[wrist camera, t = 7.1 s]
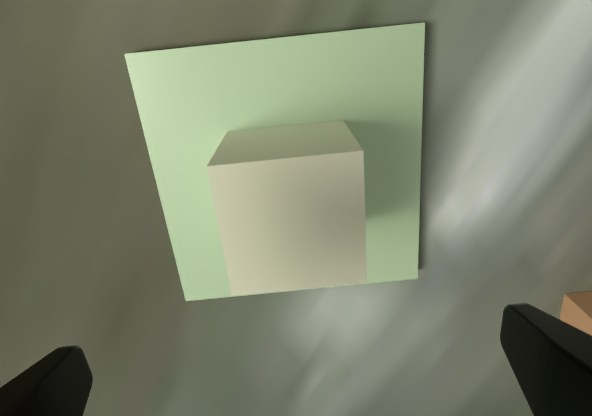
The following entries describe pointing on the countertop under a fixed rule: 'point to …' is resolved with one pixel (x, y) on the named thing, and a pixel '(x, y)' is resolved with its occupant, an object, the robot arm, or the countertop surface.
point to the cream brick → (290, 207)
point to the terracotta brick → (578, 310)
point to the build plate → (279, 112)
